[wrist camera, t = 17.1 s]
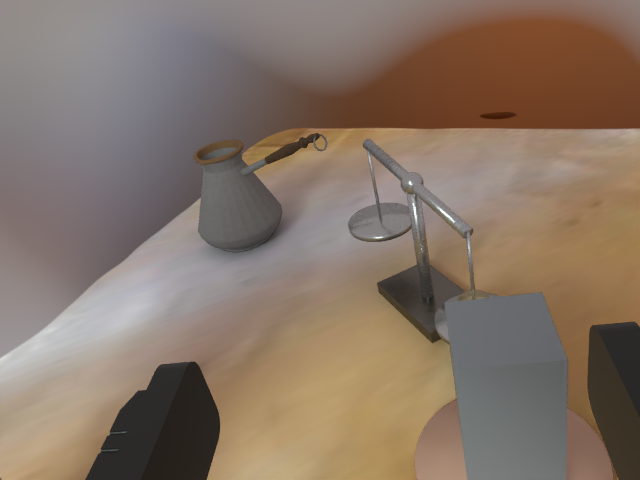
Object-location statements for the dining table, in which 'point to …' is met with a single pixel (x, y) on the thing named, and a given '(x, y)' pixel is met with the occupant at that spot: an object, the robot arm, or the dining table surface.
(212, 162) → the coffee pot
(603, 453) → the terracotta dish
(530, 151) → the dining table surface
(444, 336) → the tipped balance
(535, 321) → the grey rectangular block
